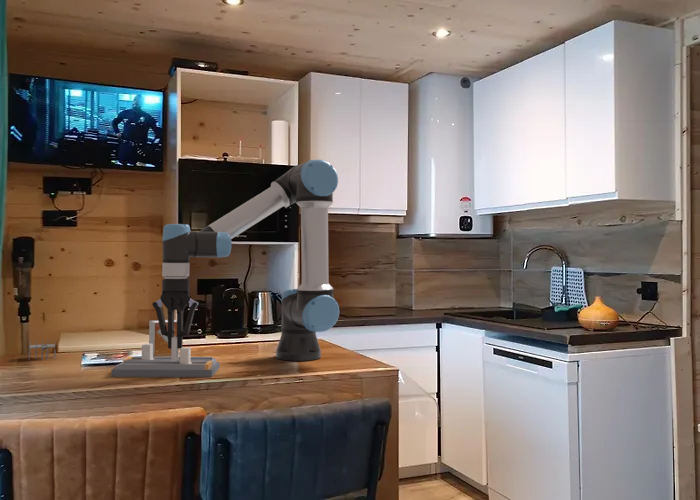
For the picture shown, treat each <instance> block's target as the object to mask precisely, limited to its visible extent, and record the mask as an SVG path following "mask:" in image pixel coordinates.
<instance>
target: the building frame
mask: <svg viewBox="0 0 700 500" xmlns="http://www.w3.org/2000/svg"><path fill="white" fill-rule="evenodd" d="M28 342H29V343H28V361H30V359H31V349H35V353H34V354H35V355H34V356H35V358H37V356H38V351H37V350H38V349H41V353H40V354H41V355H40V356H41V360H43V356H44V351H45V350H46V352H45V359H46V360H48V358H51V355H50V354H51V348H56V343H53V344H51V340H49V343H46V344H43V343H44V342H43V339H41V344H38V341H37V340H35V344H31V341H28ZM48 348H49V350H48ZM48 355H49V357H48ZM53 355H54V359H57V358H56V357H57V356H56V355H57V353H56V349H54V350H53Z"/></svg>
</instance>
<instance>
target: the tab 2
mask: <svg viewBox="0 0 700 500" xmlns="http://www.w3.org/2000/svg"><path fill="white" fill-rule="evenodd" d="M191 354H192V347H191V346H186V347H185V346H182V348H180V349H179V357H180V364H192V362H191V357H192V355H191Z"/></svg>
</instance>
